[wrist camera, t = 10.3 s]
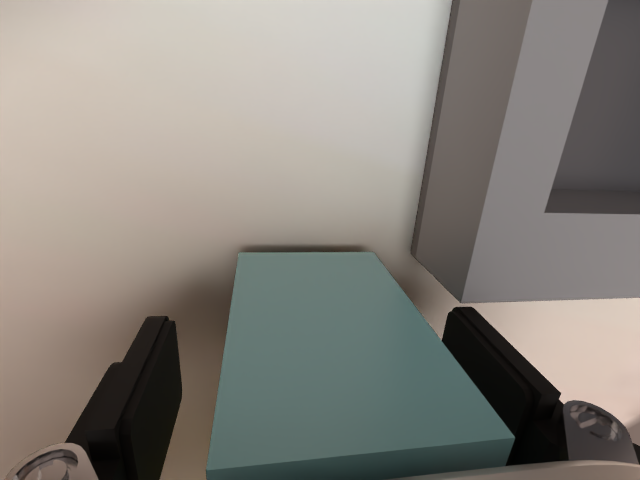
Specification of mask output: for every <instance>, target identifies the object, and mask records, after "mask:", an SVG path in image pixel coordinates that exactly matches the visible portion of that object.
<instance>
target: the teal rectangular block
mask: <svg viewBox="0 0 640 480" xmlns="http://www.w3.org/2000/svg"><path fill="white" fill-rule="evenodd" d="M514 440H515V437H514V435H513V434H512V433H511V431H510V430H509V429H508V427H507V426H506V425H505V423H504V422H503V421H502V420H501V418H500V417H499V416H498V414H497V413H496V412H495V410H494V409H493V408H492V406H491V405H490V404H489V402H488V401H487V400H486V399H485V397H484V396H483V395H482V393H481V392H480V391H479V389H478V388H477V387H476V385H475V384H474V383H473V382H472V380H471V379H470V378H469V376H468V375H467V374H466V372H465V371H464V370H463V368H462V367H461V366H460V364H459V363H458V362H457V361H456V359H455V358H454V357H453V355H452V354H451V353H450V351H449V350H448V349H447V347H446V346H445V345H444V344H443V342H442V341H441V340H440V338H439V337H438V336H437V334H436V333H435V332H434V330H433V329H432V328H431V327H430V325H429V324H428V323H427V321H426V320H425V319H424V317H423V316H422V315H421V313H420V312H419V311H418V309H417V308H416V307H415V306H414V304H413V303H412V302H411V300H410V299H409V298H408V296H407V295H406V294H405V292H404V291H403V290H402V289H401V287H400V286H399V285H398V283H397V282H396V281H395V279H394V278H393V277H392V275H391V274H390V273H389V271H388V270H387V269H386V268H385V266H384V265H383V264H382V262H381V261H380V260H379V258H378V257H377V256H376V254H375V253H374V252H239V254H238V261H237V267H236V274H235V281H234V287H233V294H232V301H231V307H230V314H229V321H228V327H227V334H226V340H225V347H224V354H223V360H222V367H221V374H220V380H219V387H218V394H217V400H216V407H215V414H214V420H213V427H212V433H211V440H210V447H209V453H208V460H207V467H206V478H207V480H386V479H394V478H403V477H412V476H421V475H430V474H439V473H448V472H457V471H466V470H476V469H485V468H494V467H503V466H505V465H506V462H507V460H508V457H509V454H510V451H511V448H512V446H513V443H514Z"/></svg>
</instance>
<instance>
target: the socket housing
mask: <svg viewBox="0 0 640 480" xmlns="http://www.w3.org/2000/svg"><path fill="white" fill-rule="evenodd" d="M411 254H412V255H413V256H414V257H415V258H416V259H417V260H418V261H419V262H420V263H421V264H422V265H423V266H424V267H425V268H426V269H427V270H428V271H429V272H430V273H431V274H432V275H433V276H434V277H435V278H436V279H437V280H438V281H439V282H440V283H441V284H442V285H443V286H444V287H445V288H446V289H447V290H448V291H449V292H450V293H451V294H452V295H453V296H454V297H455V298H456V299H457V300H458V301H459V302H460V303H487V302H518V301H549V300H580V299H612V298H640V0H453V3H452V9H451V15H450V21H449V27H448V33H447V39H446V45H445V51H444V57H443V63H442V69H441V75H440V81H439V87H438V93H437V99H436V105H435V111H434V117H433V123H432V129H431V135H430V140H429V146H428V152H427V158H426V164H425V170H424V176H423V182H422V188H421V194H420V200H419V206H418V212H417V218H416V224H415V230H414V236H413V242H412V248H411Z"/></svg>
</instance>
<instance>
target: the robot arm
mask: <svg viewBox="0 0 640 480" xmlns="http://www.w3.org/2000/svg"><path fill="white" fill-rule="evenodd" d="M442 342H443V344H444V345H445V346H446V347H447V349H448V350H449V351H450V353H451V354H452V355H453V357H454V358H455V359H456V361H457V362H458V363H459V364H460V366H461V367H462V368H463V370H464V371H465V372H466V374H467V375H468V376H469V378H470V379H471V380H472V382H473V383H474V384H475V385H476V387H477V388H478V389H479V391H480V392H481V393H482V395H483V396H484V397H485V399H486V400H487V401H488V402H489V404H490V405H491V406H492V408H493V409H494V410H495V412H496V413H497V414H498V416H499V417H500V418H501V420H502V421H503V422H504V423H505V425H506V426H507V427H508V429H509V430H510V431H511V433H512V434H513V435H514V437H515V440H514V443H513V446H512V448H511V451H510V454H509V457H508V460H507V462H506V465H505V466H503V467H494V468H485V469H476V470H466V471H457V472H448V473H439V474H430V475H421V476H412V477H403V478H394V479H386V480H640V446H638V445H636V444H634V443H632V441H631V438H630V435H629V433H628V431H627V429H626V428H625V426H624V425H623V424H622V423H621V422H620V421H619V420H618V419H617V418H615V417H614V416H613V415H612V414H610V413H609V412H607V411H605V410H604V409H602V408H600V407H598V406H595V405H593V404H591V403H587V402H583V401H576V400H573V401H568V402H567V403H565V404H563V403H562V402H561V401H560V400H559V397H560V395H561V393H560V392H559V391H558V390H557V389H556V388H555V387H554V386H553V385H552V384H551V383H550V382H549V381H548V380H547V379H546V378H545V377H544V376H543V375H542V374H541V373H540V372H539V371H538V370H537V369H536V368H535V367H534V366H533V365H532V364H530V363H529V362H528V361H527V360H526V359H525V358H524V357H523V356H522V355H521V354H520V353H519V352H518V351H517V350H516V349H515V348H514V347H513V346H512V345H511V344H510V343H509V342H508V341H507V340H506V339H505V338H504V337H503V336H502V335H501V334H500V333H499V332H498V331H497V330H496V329H495V328H493V327H492V326H491V325H490V324H489V323H488V322H487V321H486V320H485V319H484V318H483V317H482V316H481V315H480V314H479V313H478V312H477V311H476V310H475V309H474V308H472V307H455V308H453V310H452V311H451V312H449V313H448V316H447V320H446V325H445V329H444V333H443V338H442ZM181 398H182V382H181V372H180V363H179V353H178V343H177V333H176V324H175V321H169V318H168V316H151V317H147V318H146V319H145V321H144V323H143V325H142V327H141V328H140V330H139V332H138V334H137V336H136V338H135V339H134V341H133V343H132V345H131V347H130V349H129V350H128V352H127V354H126V356H125V358H124V360H123V361H122V362H118V363H113V364H111V365H110V367H109V368H108V370H107V371H106V373H105V375H104V377H103V378H102V380H101V382H100V383H99V385H98V387H97V388H96V390H95V392H94V394H93V395H92V397H91V399H90V400H89V402H88V404H87V406H86V407H85V409H84V411H83V412H82V414H81V416H80V418H79V419H78V421H77V423H76V424H75V426H74V428H73V430H72V431H71V433H70V435H69V436H68V438H67V440H66V442H65V443H59V444H55V445H50V446H48V447H45V448H43V449H41V450H38V451H36V452H34V453H33V454H31V455H30V456H28V457H26V458H25V459H23V460H22V461H21V462H20V463H19V464H17V465H16V466H15V467H14V468H13V469H12V470H11V471H10V472H9V474H8V475H7V476H6V477H5V478H4V480H159V479H160V476H161V472H162V468H163V465H164V461H165V457H166V454H167V450H168V447H169V443H170V439H171V436H172V432H173V428H174V425H175V421H176V418H177V414H178V410H179V407H180V403H181Z"/></svg>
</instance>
